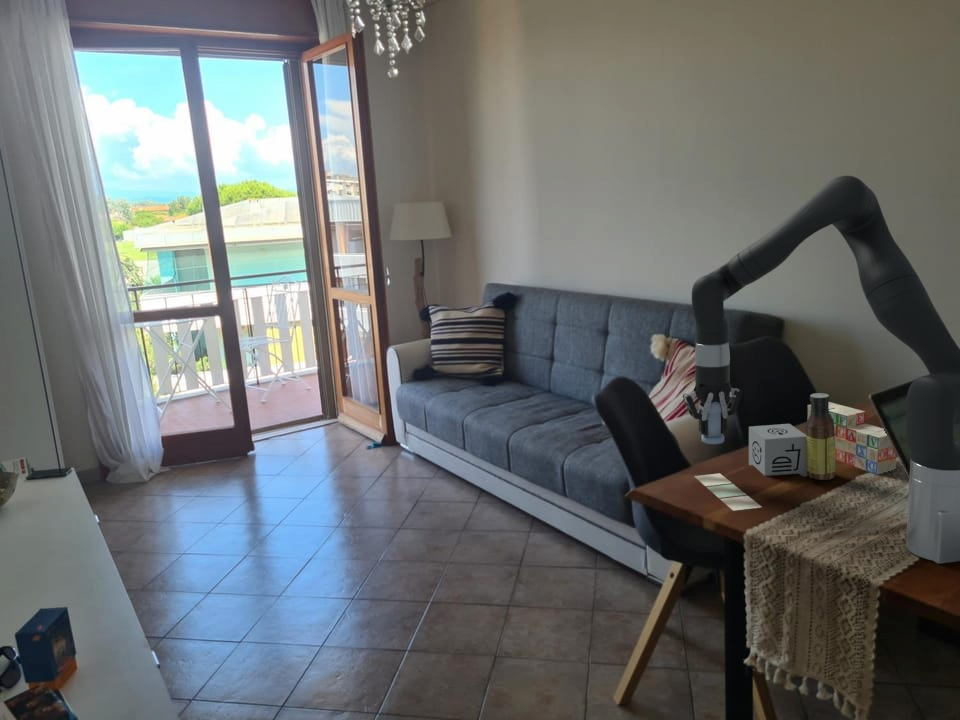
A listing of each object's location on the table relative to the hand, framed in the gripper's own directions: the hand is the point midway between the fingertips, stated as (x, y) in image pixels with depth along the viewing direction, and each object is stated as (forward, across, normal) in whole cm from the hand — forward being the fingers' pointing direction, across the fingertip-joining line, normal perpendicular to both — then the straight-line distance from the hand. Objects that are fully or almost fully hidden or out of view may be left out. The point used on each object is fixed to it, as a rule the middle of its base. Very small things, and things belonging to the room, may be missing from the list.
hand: (712, 433), depth 165 cm
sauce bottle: (+12, -25, +3) cm, 28 cm away
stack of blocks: (+13, -37, -5) cm, 40 cm away
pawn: (+2, 0, 0) cm, 2 cm away
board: (+12, 0, +7) cm, 14 cm away
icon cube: (+13, -18, -3) cm, 22 cm away
